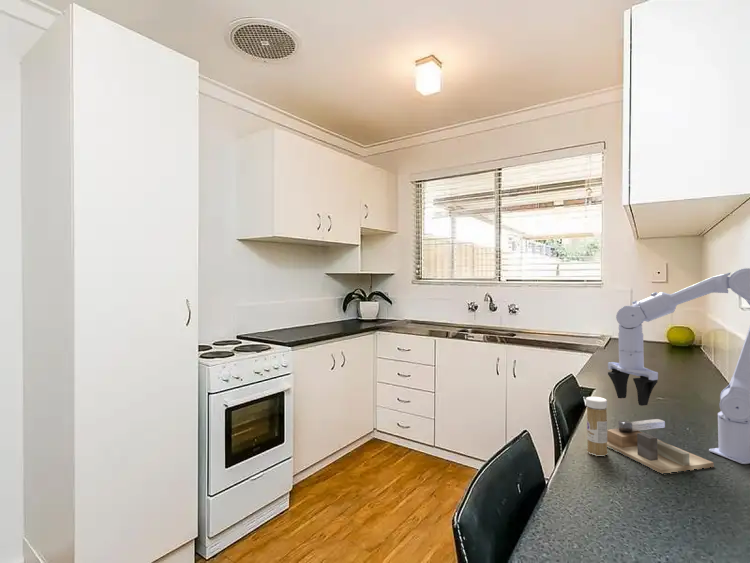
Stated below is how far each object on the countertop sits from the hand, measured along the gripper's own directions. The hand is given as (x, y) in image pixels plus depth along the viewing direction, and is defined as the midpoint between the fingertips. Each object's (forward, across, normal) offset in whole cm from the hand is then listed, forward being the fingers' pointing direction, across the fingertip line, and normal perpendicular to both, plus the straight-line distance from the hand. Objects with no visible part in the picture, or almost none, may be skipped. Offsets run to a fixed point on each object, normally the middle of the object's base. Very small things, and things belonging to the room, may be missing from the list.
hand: (632, 401), depth 114 cm
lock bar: (+5, +5, -2) cm, 8 cm away
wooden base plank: (+9, +11, -5) cm, 15 cm away
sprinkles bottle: (+10, +7, -17) cm, 21 cm away
